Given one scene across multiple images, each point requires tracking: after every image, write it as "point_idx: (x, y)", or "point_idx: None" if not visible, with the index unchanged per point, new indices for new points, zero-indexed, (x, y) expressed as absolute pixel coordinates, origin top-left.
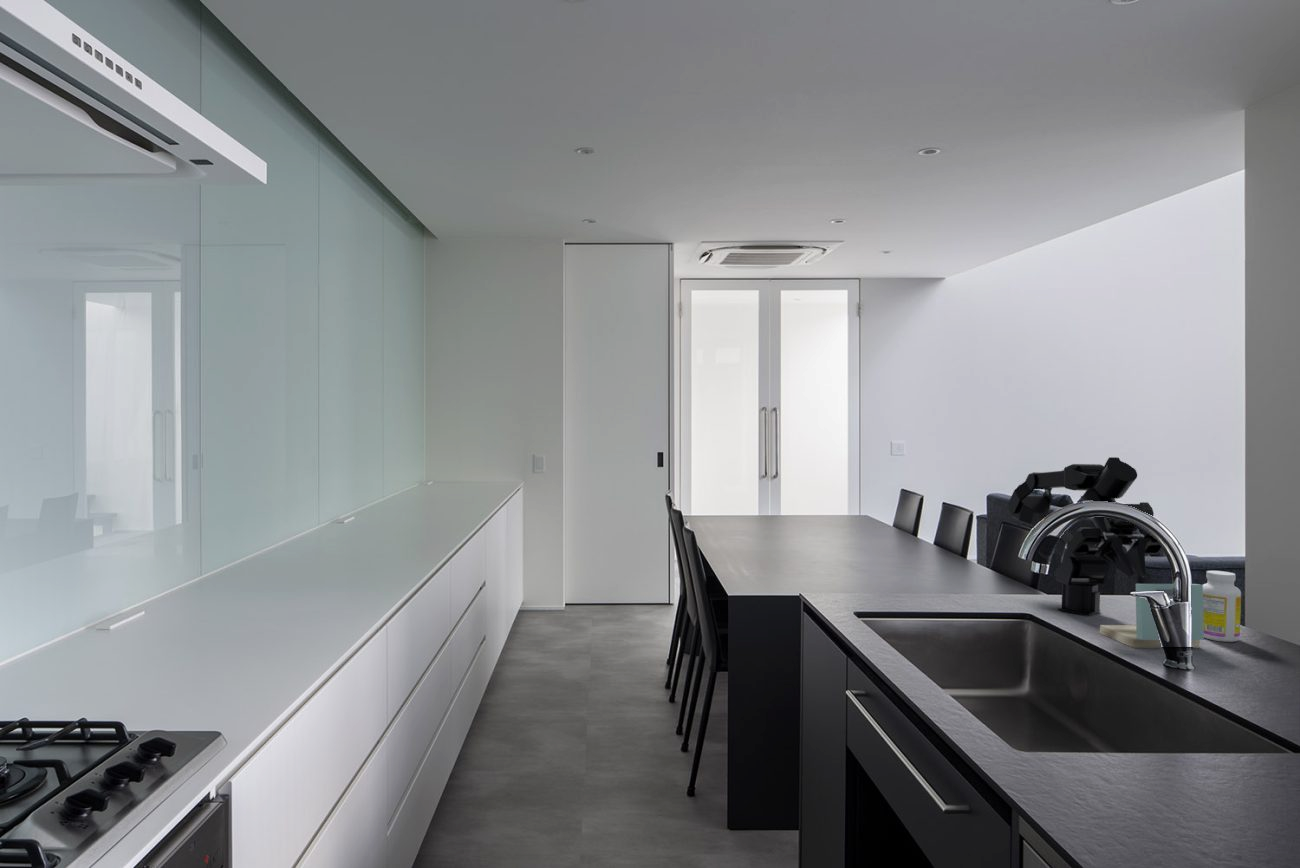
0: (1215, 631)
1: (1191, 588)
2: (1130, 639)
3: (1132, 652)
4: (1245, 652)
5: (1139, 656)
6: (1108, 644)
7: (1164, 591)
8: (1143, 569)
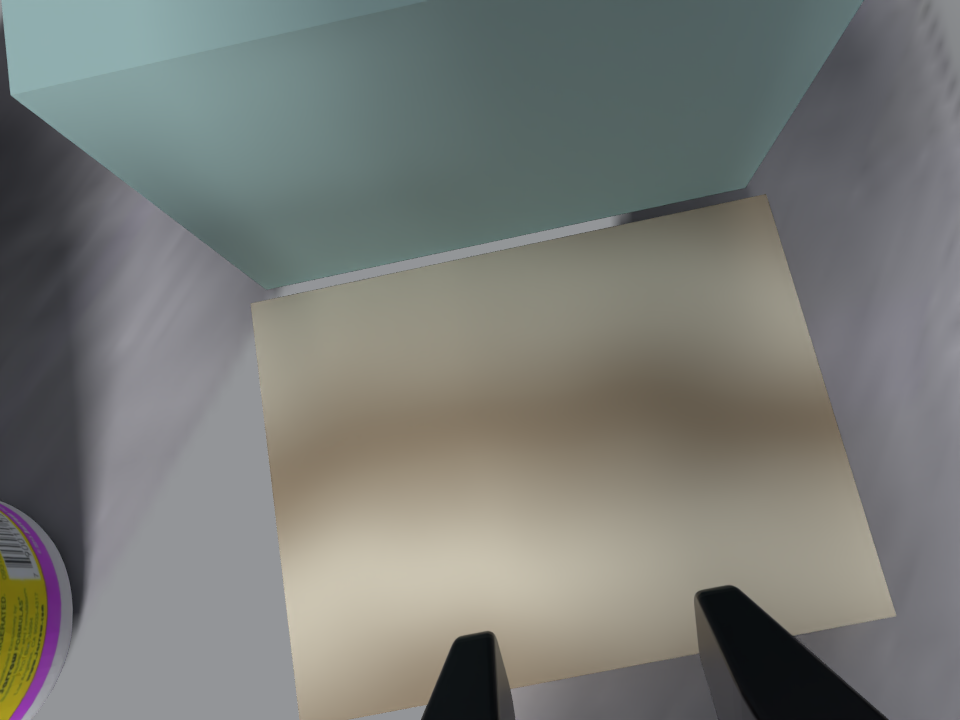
0: (2, 517)
1: None
2: (772, 228)
3: (798, 110)
4: (34, 270)
5: None
6: (903, 274)
7: None
8: (474, 703)
